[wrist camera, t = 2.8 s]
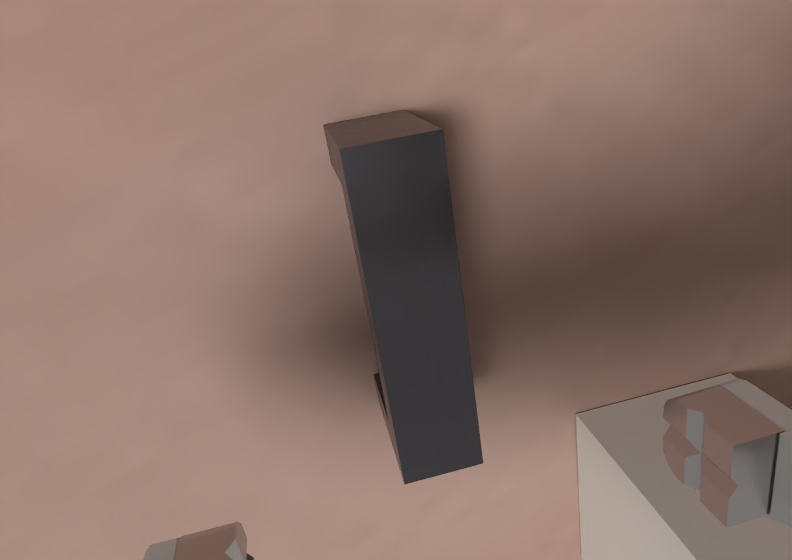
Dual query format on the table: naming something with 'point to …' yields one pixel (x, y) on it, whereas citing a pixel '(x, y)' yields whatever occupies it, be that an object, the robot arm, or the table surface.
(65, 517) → the table surface
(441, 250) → the frame
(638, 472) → the stand
